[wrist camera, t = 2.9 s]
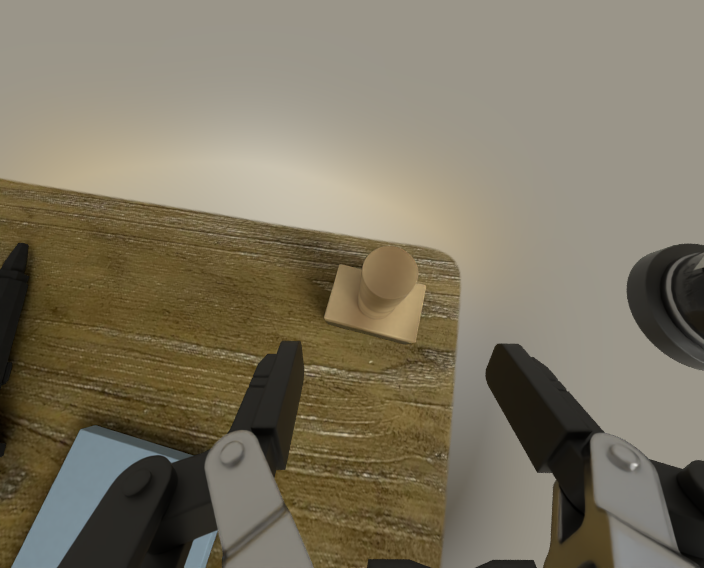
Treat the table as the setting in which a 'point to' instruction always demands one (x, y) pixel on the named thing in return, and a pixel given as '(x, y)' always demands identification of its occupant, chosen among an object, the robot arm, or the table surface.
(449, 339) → the table surface
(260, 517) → the robot arm
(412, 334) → the wooden stamp
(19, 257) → the microphone
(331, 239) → the table surface
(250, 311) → the table surface
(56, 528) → the mat
